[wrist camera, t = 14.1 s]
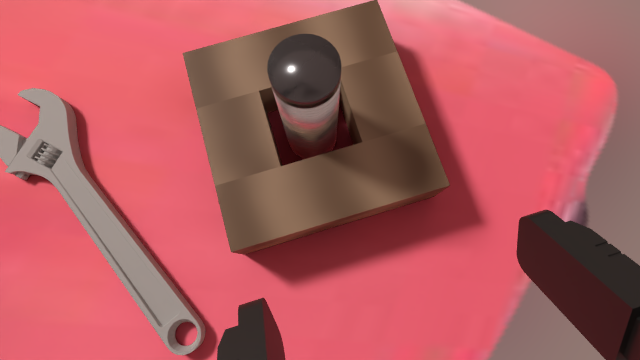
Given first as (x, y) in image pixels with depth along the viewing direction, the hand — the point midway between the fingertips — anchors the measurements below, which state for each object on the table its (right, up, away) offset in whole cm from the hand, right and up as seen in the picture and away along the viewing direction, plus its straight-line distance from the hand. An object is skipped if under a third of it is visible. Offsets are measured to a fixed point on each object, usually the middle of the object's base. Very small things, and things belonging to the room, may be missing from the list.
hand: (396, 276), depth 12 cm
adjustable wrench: (-20, 0, +19) cm, 28 cm away
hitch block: (-3, +7, +20) cm, 21 cm away
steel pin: (-3, +6, +20) cm, 21 cm away
